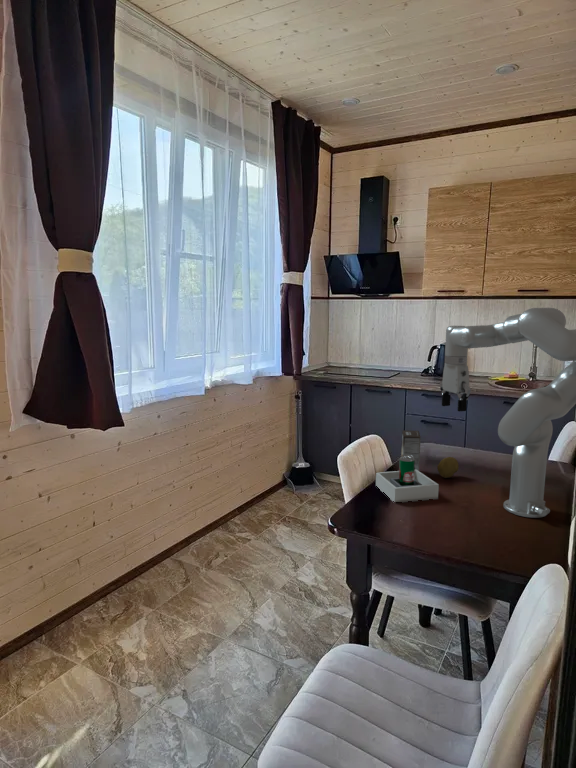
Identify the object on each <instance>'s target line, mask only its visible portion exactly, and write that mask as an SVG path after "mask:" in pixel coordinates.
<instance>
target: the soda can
mask: <svg viewBox="0 0 576 768" xmlns="http://www.w3.org/2000/svg"><path fill="white" fill-rule="evenodd" d="M398 460H399V468H398V471H399V484H400V485H401V486H408V485H414V469H415V460H414V457H413V456H411V455H400V458H399V459H398Z"/></svg>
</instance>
